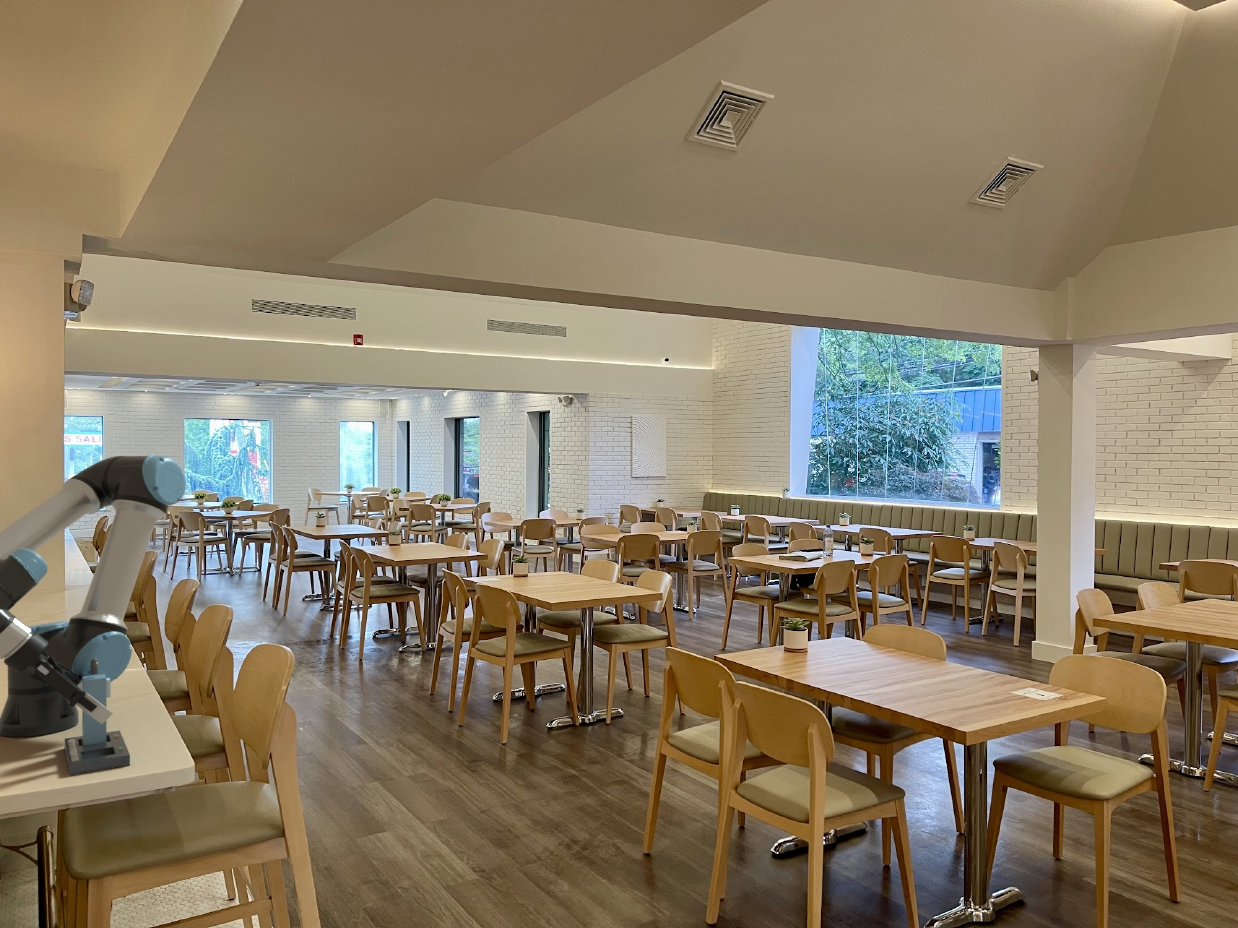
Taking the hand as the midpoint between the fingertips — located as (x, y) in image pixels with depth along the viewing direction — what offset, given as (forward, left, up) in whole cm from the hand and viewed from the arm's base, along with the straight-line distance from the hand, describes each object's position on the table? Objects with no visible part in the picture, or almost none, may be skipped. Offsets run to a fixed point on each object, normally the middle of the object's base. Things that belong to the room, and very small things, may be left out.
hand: (104, 711), depth 184 cm
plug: (0, -2, -8) cm, 8 cm away
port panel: (+5, -2, -8) cm, 9 cm away
